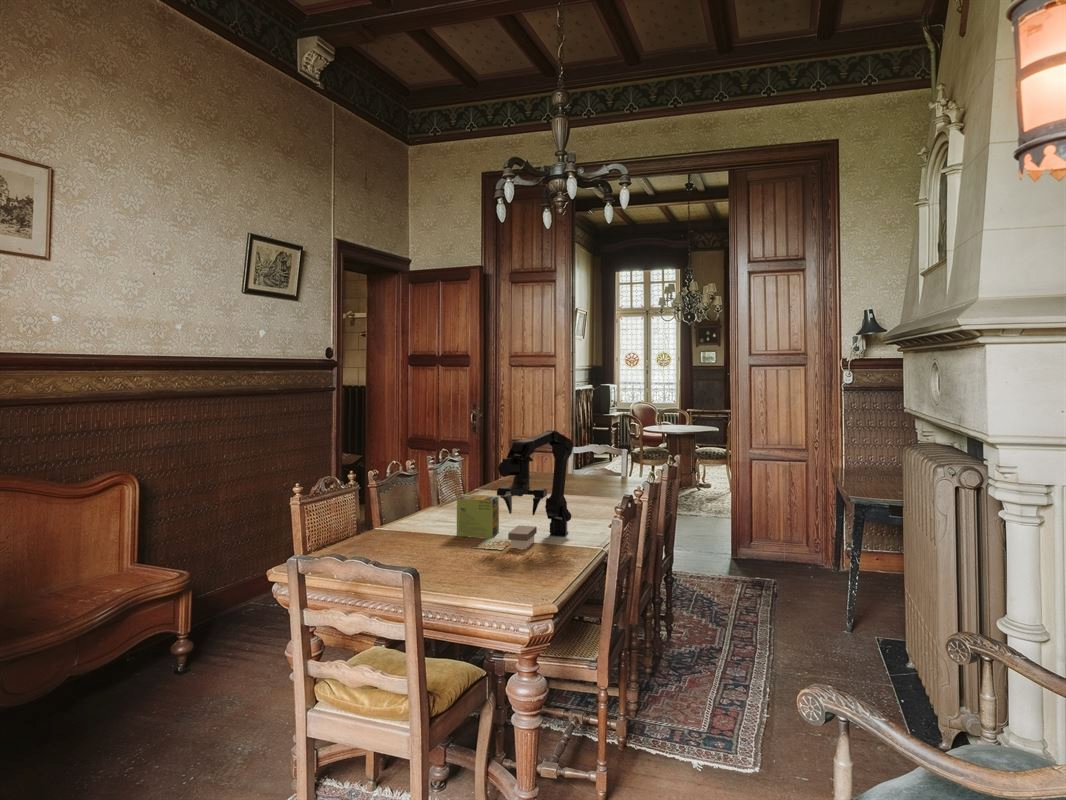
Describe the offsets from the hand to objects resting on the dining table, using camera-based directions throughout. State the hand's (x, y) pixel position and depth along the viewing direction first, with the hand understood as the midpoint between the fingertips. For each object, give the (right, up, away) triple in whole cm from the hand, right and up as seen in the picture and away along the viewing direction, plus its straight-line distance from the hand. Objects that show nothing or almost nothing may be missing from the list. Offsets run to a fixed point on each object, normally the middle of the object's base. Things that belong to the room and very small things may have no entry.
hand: (521, 514), depth 256 cm
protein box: (-18, -12, +18) cm, 28 cm away
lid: (0, -8, 0) cm, 8 cm away
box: (0, -12, 0) cm, 12 cm away
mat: (-10, -12, +1) cm, 16 cm away
